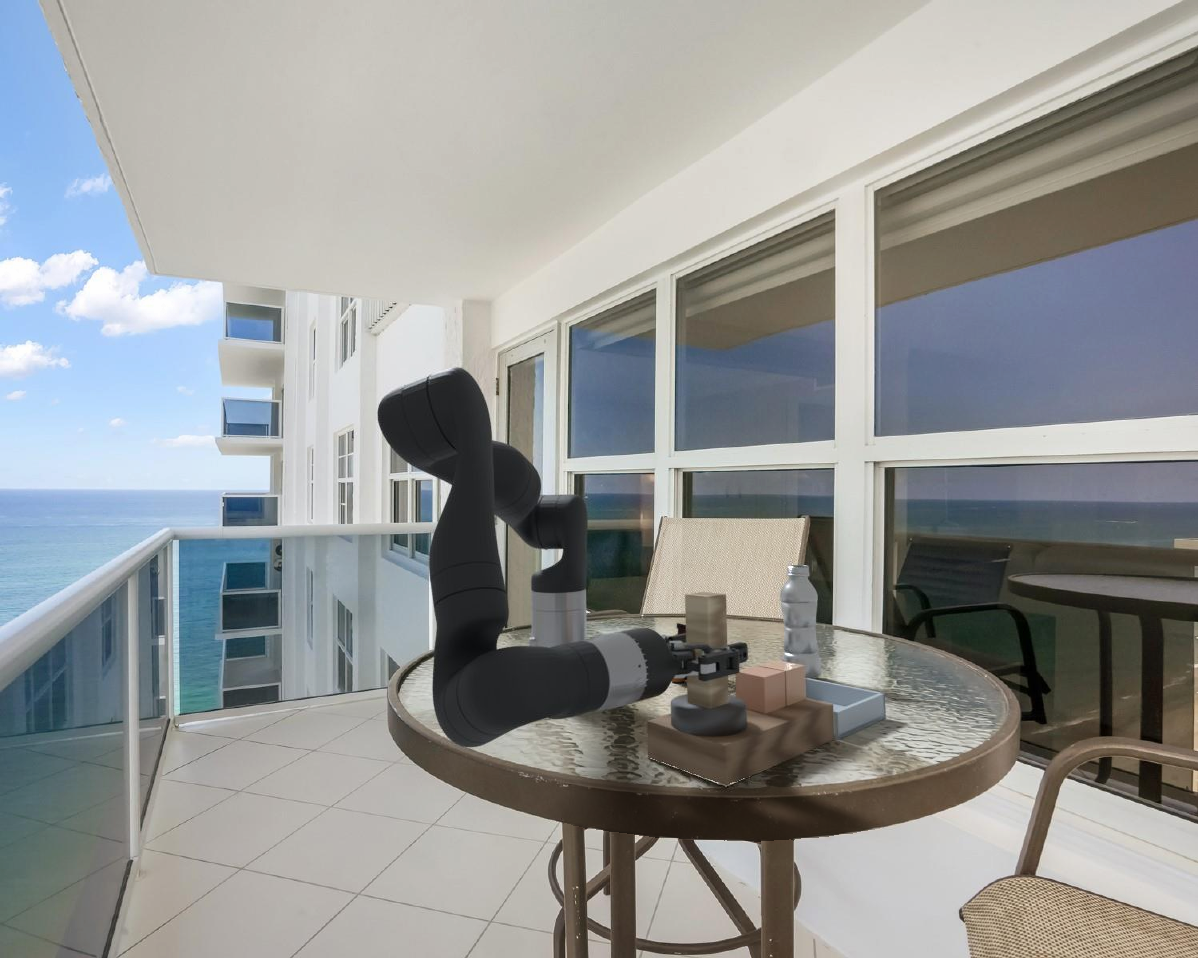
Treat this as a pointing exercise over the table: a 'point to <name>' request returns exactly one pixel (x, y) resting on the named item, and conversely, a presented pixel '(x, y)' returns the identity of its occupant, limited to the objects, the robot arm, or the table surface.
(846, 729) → the tray
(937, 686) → the table surface
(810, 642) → the plastic bottle
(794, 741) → the wooden rectangular block
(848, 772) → the table surface
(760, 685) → the pinkish tan cube
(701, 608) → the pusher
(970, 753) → the table surface
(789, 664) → the beige cube
